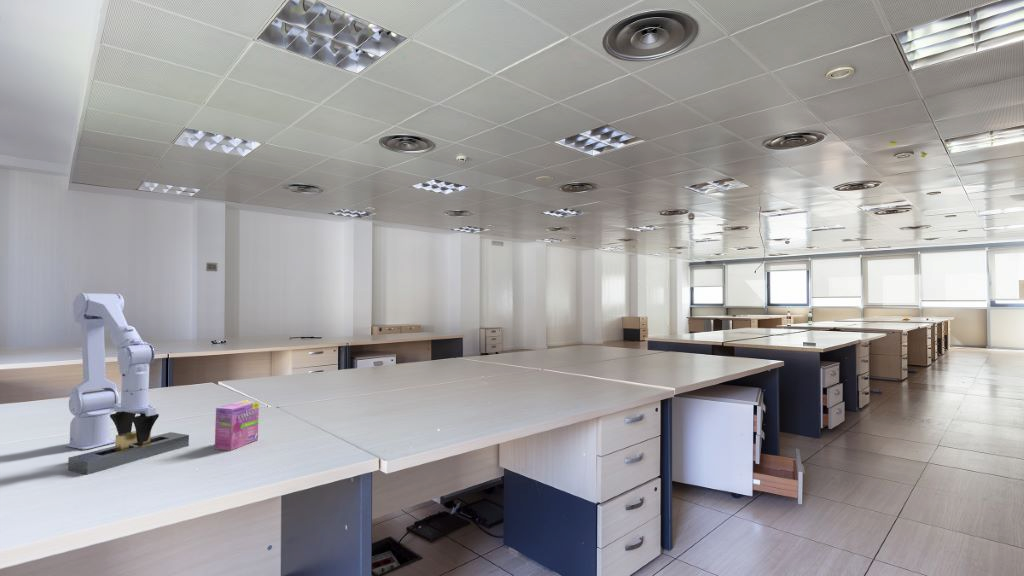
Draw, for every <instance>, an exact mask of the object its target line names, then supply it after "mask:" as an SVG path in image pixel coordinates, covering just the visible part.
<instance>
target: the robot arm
mask: <svg viewBox="0 0 1024 576" xmlns="http://www.w3.org/2000/svg"><path fill="white" fill-rule="evenodd" d="M72 305H73V306H72V307H73V318H74V319H73V320H74V322H75V323H77V324H79V325H80V330H81V349H82V351H81V354H82V358H81V359H82V379H83V380H82V381H81V382H79V383H78V384H76V385H75V386H73V388H71V390H70V396H69V399H68V410H69V412H70V414H72V415H73V416H74V417H73V418H72V419H71V421H70V425H69V443H65V446H66V447H69V448H74V449H79V450H85V451H86V450H89V449H93V448H97V447H102V446H106V445H110V444H114V443H115V441H116V439H111V436H110V435H111V420H112V422H113V423H114V425H115V428H116V432H117V435H120V434H124V433H128V432H132V428H133V424H134V428H135V431H136V438H137V442H138V443H142V442H145V441H148V438H149V435H150V432H151V433H152V429H153V426H154V425H155V423H156V421H157V420H158V418H159V416H160V414H159V413H157V407H155V406H152V405H151V404H149V393H150V391H149V389H150V388H149V387H150V385H149V384H150V365H152V364H153V363H154V360H155V357H156V356H155V355H156V353H155V349H154V346H153V344H151V343H148V342H147V341H143V339H142V338H141V336H140V334H139V332H138V331H137V330H136V327H134V326H133V325H128V322H127V320H126V318H125V315H124V313H123V312H124V311H123V310H124V308H125V300H124V297H123V295H122V294H121V293H93V292H92V293H91V292H90V293H89V292H88V293H86V292H85V293H84V292H79V293H78V294H76V296H75V298H74V301H73V304H72ZM106 325H107V326H108V327H109V329H110V330H111V333H110V335H109V338H110V340H111V342H112V343H113V345H114V347H115V349H116V350H117V352H118V354H117V363H118V366H119V367H118V368H119V370H118V371H119V374H121V387H120V388H121V389H120V390H121V393H120V394H119V392H118V389H117V388H118V387H117V383H115V382H113V381H111V380H109V379H107V375H106V374H107V373H106V351H105V327H104V326H106ZM98 389H101V390H98ZM120 395H121V396H120ZM113 412H115V413H113Z"/></svg>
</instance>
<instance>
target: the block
mask: <svg viewBox="0 0 1024 576" xmlns="http://www.w3.org/2000/svg"><path fill="white" fill-rule="evenodd" d="M189 441H190V435H189V434H184V433H179V432H174V431H173V432H172V431H170V432H167V433H162V434H157V435H153V436H151V439H150V443H149V444H145V445H141V446H138V445H137V444H138V442H135V443H131V444H129V449H126V450H122V451H118V452H115V445H114V446H110V447H105V448H101V449H98V450H94V451H89V452H85V453H82V454H77V455H73V456H69V457H68V462H67V471H72V472H77V473H80V474H84V475H90V474H93V473H97V472H101V471H105V470H108V469H112V468H115V467H119V466H122V465H125V464H130V463H132V462H133V463H134V462H136V461H140V460H143V459H146V458H150V457H153V456H157V455H161V454H164V453H168V452H171V451H175V450H177V449H182V448H184V447H188V446H189V445H190V443H189Z"/></svg>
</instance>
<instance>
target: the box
mask: <svg viewBox="0 0 1024 576" xmlns="http://www.w3.org/2000/svg"><path fill="white" fill-rule="evenodd" d="M259 406H260V401H259V400H248V399H245V400H243V399H242V400H241V401H237V402H236V401H235V402H233V403H230V404H226V405H222V406H219V407H216V408H215V423H214V425H215V429H214V431H215V432H214V433H215V434H214V450H218V451H228V452H229V451H233V450H236V449H239V448H241V447H244V446H245V445H247V444H248V445H249V444H251V443H253V442H256V441H258V439H259V409H260V407H259Z"/></svg>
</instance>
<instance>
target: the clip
mask: <svg viewBox="0 0 1024 576" xmlns="http://www.w3.org/2000/svg"><path fill="white" fill-rule="evenodd" d="M151 433H152V431H151V432H150V435H149V438H148V441H145V442H142V443H138V444H137V445H138V446H141V445H145V444H149V443H150V439H151V437H152V435H151ZM115 440H116V441H115V445H114V446H115V452H118V451H122V450H126V449H129V444H131V443H135V442H137V438H136V430H134V431H131V432H128V433H124V434H120V435H118V434H116V435H115Z"/></svg>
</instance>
